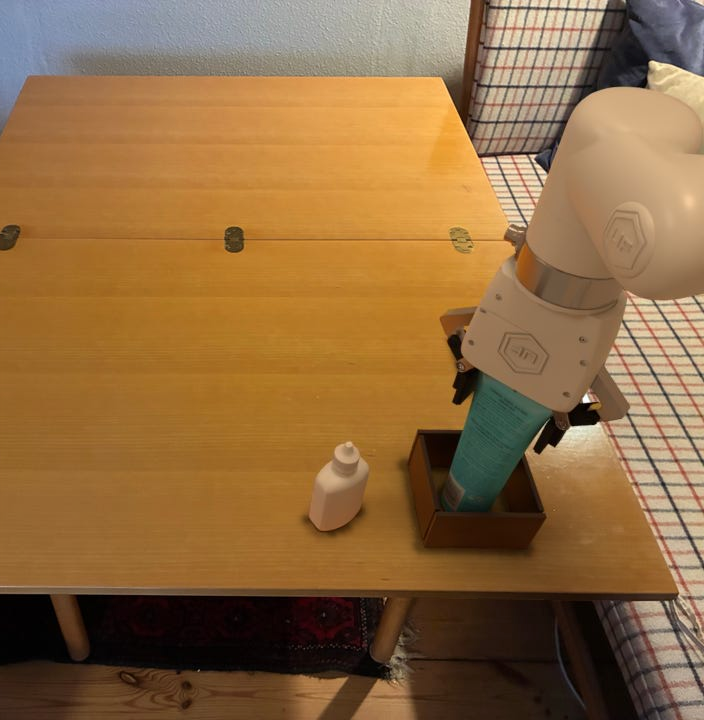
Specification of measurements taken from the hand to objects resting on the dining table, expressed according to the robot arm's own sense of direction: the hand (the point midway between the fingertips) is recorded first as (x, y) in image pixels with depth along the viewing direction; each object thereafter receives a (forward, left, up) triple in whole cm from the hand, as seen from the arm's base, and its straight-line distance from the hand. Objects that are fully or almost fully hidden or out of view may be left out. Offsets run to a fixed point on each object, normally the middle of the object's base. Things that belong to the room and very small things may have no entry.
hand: (502, 418), depth 63 cm
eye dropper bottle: (+9, +11, -14) cm, 20 cm away
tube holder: (0, 0, -14) cm, 14 cm away
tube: (0, 0, -14) cm, 14 cm away
